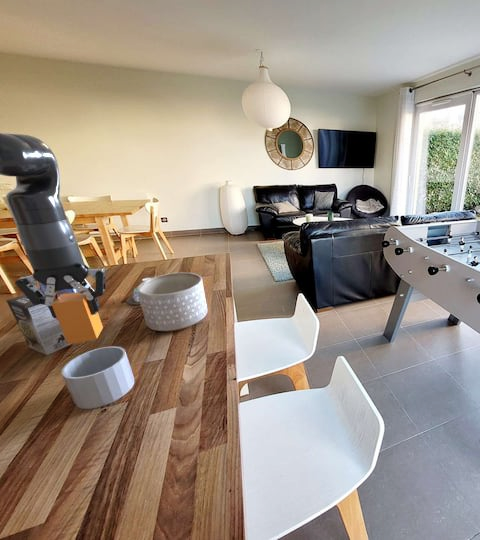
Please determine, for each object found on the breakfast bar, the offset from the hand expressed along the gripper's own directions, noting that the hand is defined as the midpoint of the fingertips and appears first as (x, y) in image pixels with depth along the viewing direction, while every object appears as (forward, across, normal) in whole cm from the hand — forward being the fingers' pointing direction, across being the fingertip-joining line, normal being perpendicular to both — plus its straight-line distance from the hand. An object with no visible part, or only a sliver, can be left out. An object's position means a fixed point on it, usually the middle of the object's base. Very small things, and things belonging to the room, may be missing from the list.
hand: (78, 315), depth 64 cm
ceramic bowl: (+21, 0, +1) cm, 21 cm away
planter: (+21, -14, -29) cm, 39 cm away
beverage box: (+21, +20, -47) cm, 56 cm away
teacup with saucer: (+21, -1, -52) cm, 57 cm away
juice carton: (+5, 0, 0) cm, 5 cm away
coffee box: (+21, +19, -27) cm, 40 cm away
